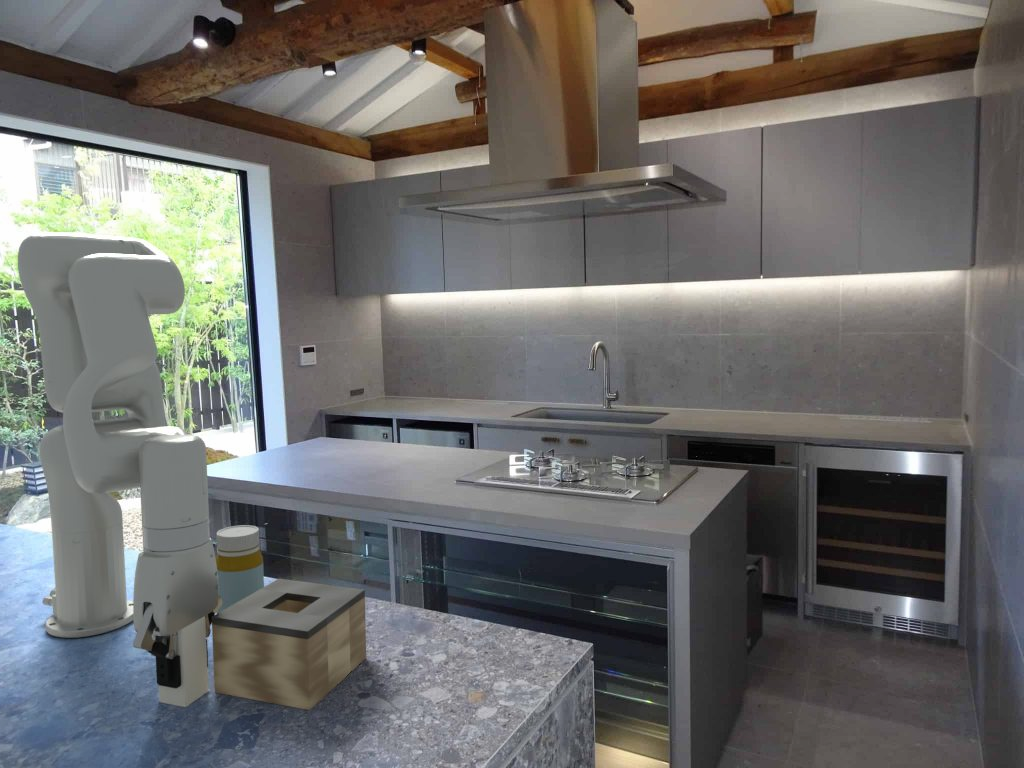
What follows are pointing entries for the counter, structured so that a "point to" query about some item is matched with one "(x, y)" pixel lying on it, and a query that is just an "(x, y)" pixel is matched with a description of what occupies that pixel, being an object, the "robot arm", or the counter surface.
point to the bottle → (238, 564)
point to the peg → (189, 666)
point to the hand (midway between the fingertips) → (183, 675)
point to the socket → (289, 642)
